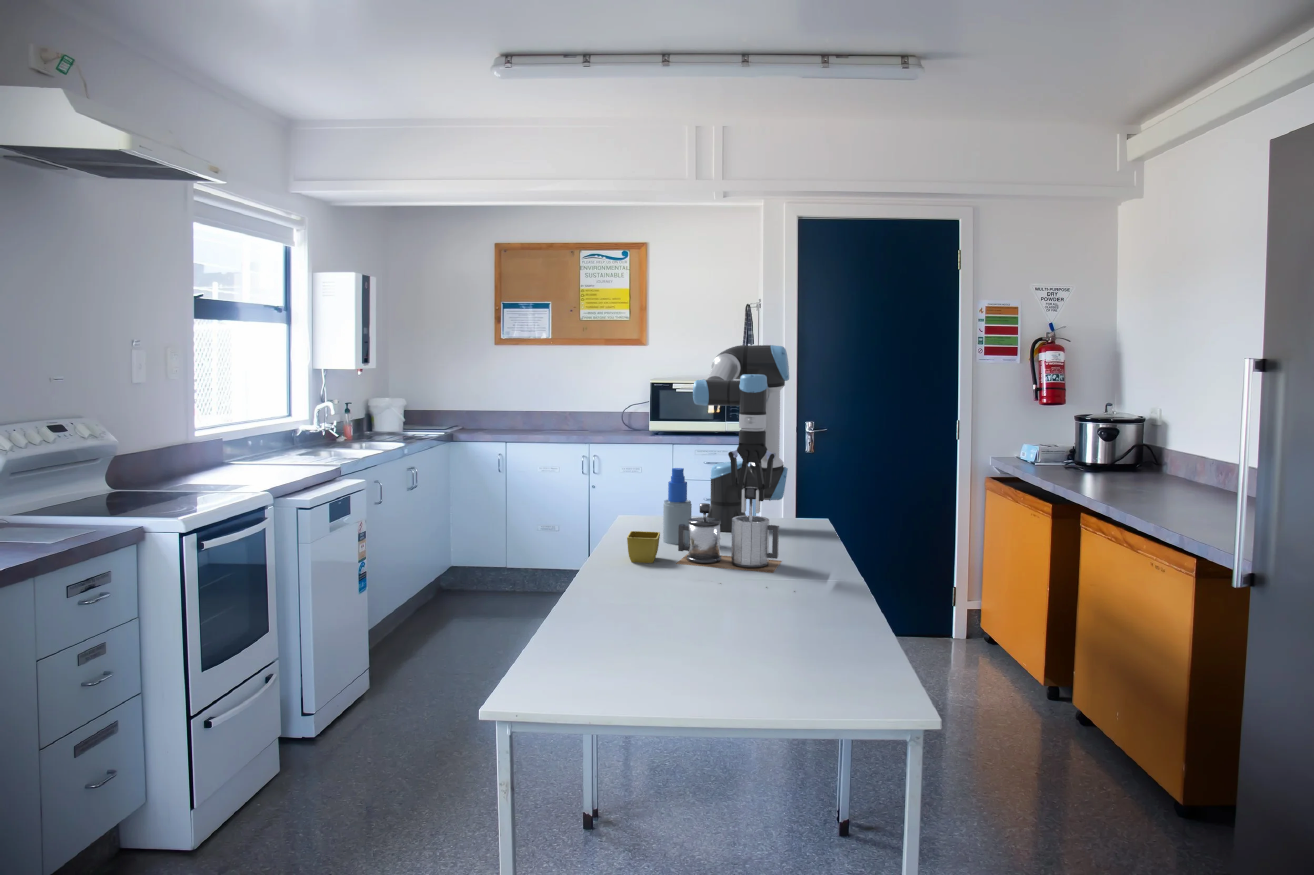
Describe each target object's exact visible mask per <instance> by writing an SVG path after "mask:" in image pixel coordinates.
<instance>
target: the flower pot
mask: <svg viewBox="0 0 1314 875" xmlns="http://www.w3.org/2000/svg"><path fill="white" fill-rule="evenodd" d="M660 536H661V532H660V531H659V532H658V531H642V530H641V531H639V530H631V531H630V532H629V533H628V534H627V536H626V542H627V543H626V544H627V553H628V557H629V560H630V562H631V563H640V564H641V563H643V564H645V563H647V564H654V561H655V559H656V557H657V555H658V551H659V547H660V546H659V544H660Z"/></svg>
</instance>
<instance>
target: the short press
mask: <svg viewBox="0 0 1314 875" xmlns="http://www.w3.org/2000/svg"><path fill="white" fill-rule="evenodd" d="M699 513H700V514H702V516H701V517H691V519H689V520H688V523H689V526H686V525H685V524H680V525H679V529H678V545H677V546H678V548H677V550H678V552H684V551H686V552H688V553H689V555H687V554H686V555H687V561H689V562H691V563H695V564H715V563H719V562H721V556H720V555H721V554H720V553H721V531H720V524H721V520H719V519H716V518H708V517H707V514H708V513H710V503H706V502H704V503H699ZM685 530H687V531H689V543H688V545H686V544H685Z"/></svg>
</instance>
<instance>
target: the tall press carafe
mask: <svg viewBox="0 0 1314 875" xmlns="http://www.w3.org/2000/svg"><path fill="white" fill-rule="evenodd" d="M779 530H780V525H775V524H773V525H772V524H770V519H769V518H767V517H765V516H760V515H752V522H749V515H746V516H737V517H734V518H732V532H731V551H730V552H731V555H730V556H731V560H732V565H733V566H735V567H739V568H746V569H759V568H764V567H767V566H768V561H769V560H770V559H774V560H777V559H778V558H779V536H780V534H779V533H780V531H779ZM770 531H772V538H771V539H772V543H771V544H772V545H771V547H772V548H771V552H770Z"/></svg>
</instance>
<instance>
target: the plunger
mask: <svg viewBox="0 0 1314 875" xmlns="http://www.w3.org/2000/svg"><path fill="white" fill-rule="evenodd" d="M756 490H757V487H745V498H746V500H748V502H749V503H748V504H749V505H748V506H749V508H748V509H749V510H748V512H749V513H748V516H749V522H752V516H753V506H754V504H753V503H754V502H753V501H754V500H755V499H756Z"/></svg>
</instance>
